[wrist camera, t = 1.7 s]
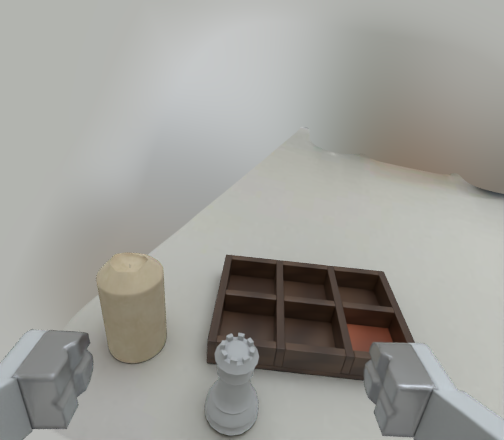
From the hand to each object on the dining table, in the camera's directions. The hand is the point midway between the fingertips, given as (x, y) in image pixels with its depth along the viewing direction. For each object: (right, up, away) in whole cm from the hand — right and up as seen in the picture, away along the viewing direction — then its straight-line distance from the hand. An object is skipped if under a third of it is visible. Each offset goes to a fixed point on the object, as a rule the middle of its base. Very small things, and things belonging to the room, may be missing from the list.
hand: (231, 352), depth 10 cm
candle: (-11, -8, +24) cm, 28 cm away
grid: (+7, -7, +28) cm, 30 cm away
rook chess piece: (-1, -12, +19) cm, 22 cm away
